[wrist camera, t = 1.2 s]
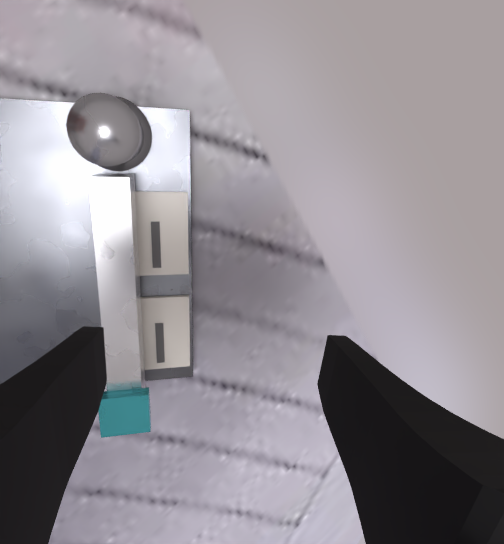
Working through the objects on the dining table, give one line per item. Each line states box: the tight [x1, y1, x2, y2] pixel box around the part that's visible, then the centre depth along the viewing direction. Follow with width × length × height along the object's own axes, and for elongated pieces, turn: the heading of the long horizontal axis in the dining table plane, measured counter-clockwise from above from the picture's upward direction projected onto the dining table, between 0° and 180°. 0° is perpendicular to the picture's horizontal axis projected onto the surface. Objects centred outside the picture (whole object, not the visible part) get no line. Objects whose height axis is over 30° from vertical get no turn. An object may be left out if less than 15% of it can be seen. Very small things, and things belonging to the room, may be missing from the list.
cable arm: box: [88, 173, 151, 438], centre depth 21 cm, size 14×3×4 cm, turn 178°
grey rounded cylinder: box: [66, 93, 152, 171], centre depth 19 cm, size 4×4×4 cm
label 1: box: [135, 191, 189, 276], centre depth 22 cm, size 5×5×1 cm
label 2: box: [141, 295, 190, 370], centre depth 24 cm, size 5×5×1 cm
